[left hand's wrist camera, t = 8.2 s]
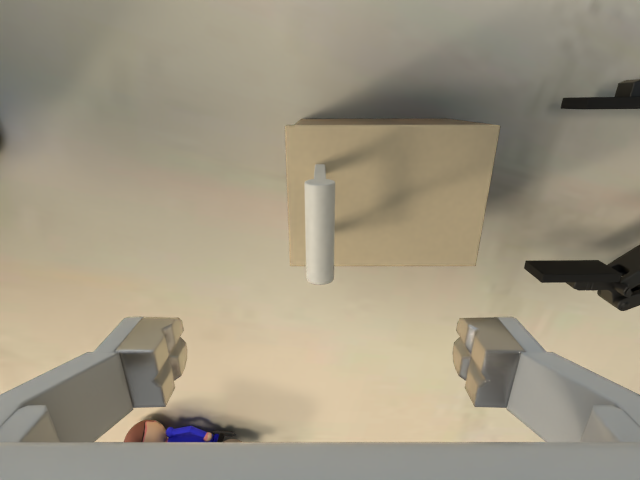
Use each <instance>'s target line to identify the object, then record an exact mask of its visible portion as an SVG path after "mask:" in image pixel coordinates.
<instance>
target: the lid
mask: <svg viewBox="0 0 640 480" xmlns="http://www.w3.org/2000/svg"><path fill="white" fill-rule="evenodd" d="M499 131H500V125H286V126H285V143H286V170H287V198H288V225H289V252H290V266H306V279H307V281H308V282H310V283H312V284H316V285H324V284H328V283H330V282H332V281H333V279H334V266H476V260H477V255H478V249H479V243H480V238H481V232H482V227H483V221H484V215H485V210H486V204H487V198H488V193H489V187H490V182H491V176H492V170H493V165H494V159H495V154H496V148H497V142H498V137H499Z"/></svg>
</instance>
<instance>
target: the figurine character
mask: <svg viewBox="0 0 640 480" xmlns="http://www.w3.org/2000/svg"><path fill="white" fill-rule="evenodd" d="M211 433H212V434H211ZM211 433H210V432H205V431H203V430H200V429H198V428H196V427H193V426H191V425H190V426H186V427H181V428H176V429H174V428H173V427H169V428H167V430H165V428H164V426H163V425H162V424H161V423H160V422H158V421H156V420H144V421H141V422H139V423H137V424H136V425H134V426H133V427H132V428H131V429H130V431H129V432H128V433H127V435H126V437H125V440H124V442H223V438H224V436H234V435H236V434H235V433H234V432H228V431H216V430H215V431H213V432H211ZM213 434H214V437H213ZM167 437H169V438H168V439H167ZM212 437H213V439H212ZM224 442H241V441H239V440H237V439H228V440H225V441H224Z"/></svg>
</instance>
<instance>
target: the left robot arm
mask: <svg viewBox="0 0 640 480" xmlns="http://www.w3.org/2000/svg"><path fill="white" fill-rule="evenodd" d="M183 331H184V328H183V324H182V320H181V319H180V318H170V317H127V318H124V319H123V320H122V321H121V322H120V323H119V325H118V326H117V327H116V328H115V329H114V330H113V331H112V332H111V333H110V334H109V335H108V337H107V338H106V339H105V340H104V341H103V342H102V343H101V344H100V345H99V346H98V348H97V349H96V350H95V351H94V352H87V353H85V354H83V355H81V356H79V357H77V358H75V359H73V360H71V361H69V362H66V363H64V364H62V365H60V366H58V367H56V368H54V369H52V370H50V371H48V372H46V373H44V374H42V375H40V376H38V377H36V378H34V379H32V380H30V381H28V382H26V383H23V384H21V385H19V386H17V387H15V388H13V389H11V390H9V391H7V392H5V393H3V394H1V395H0V480H640V395H639V394H637V393H635V392H633V391H631V390H629V389H627V388H624V387H622V386H620V385H618V384H616V383H614V382H612V381H610V380H608V379H606V378H604V377H602V376H600V375H598V374H596V373H594V372H592V371H590V370H588V369H586V368H584V367H582V366H580V365H578V364H576V363H573V362H571V361H569V360H567V359H565V358H563V357H561V356H559V355H557V354H555V353H553V352H546V351H545V350H544V349H543V348H542V346H541V345H540V344H539V343H538V342H537V341H536V340H535V339H534V338H533V337H532V335H531V334H530V333H529V332H528V331H527V330H526V329H525V328H524V327H523V326H522V325H521V323H520V322H519V321H518V320H517V319H516V318H514V317H494V318H460V319H459V321H458V323H457V328H456V331H457V333H458V334H459V336H460V337H459V338H458V339H457V340H456V341H455V342H454V346H453V362H454V365H455V369H456V371H457V373H458V375H459V376H460V377H461V378H463V379H464V380H466V384H465V389H466V391H467V393H468V395H469V397H470V399H471V401H472V403H473V404H474V406H475V407H500V408H507V410H508V411H509V412H511V413H512V414H513V415H514V416H515V417H517V418H518V419H519V420H520V421H521V422H523V423H524V424H525V425H526V426H527V427H529V428H530V429H531V430H532V431H533V432H535V433H536V434H537V435H538V436H539V437H541V438H542V439H543V440H544V441H545V442H95V441H96V440H97V439H98V438H99V437H101V436H102V435H103V434H104V433H105V432H107V431H108V430H109V429H110V428H112V427H113V426H114V425H115V424H116V423H118V422H119V421H120V420H121V419H122V418H124V417H125V416H126V415H127V414H128V413H130V412H131V411H132V410H133V408H140V407H165V406H166V405H167V403H168V401H169V399H170V397H171V395H172V393H173V391H174V389H175V384H174V380H176V379H177V378H179V377H180V376H181V375H182V373H183V371H184V369H185V365H186V361H187V346H186V342H185V341H184V340H183V339H182V338H181V337H180V336H181V334H182V333H183Z"/></svg>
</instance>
